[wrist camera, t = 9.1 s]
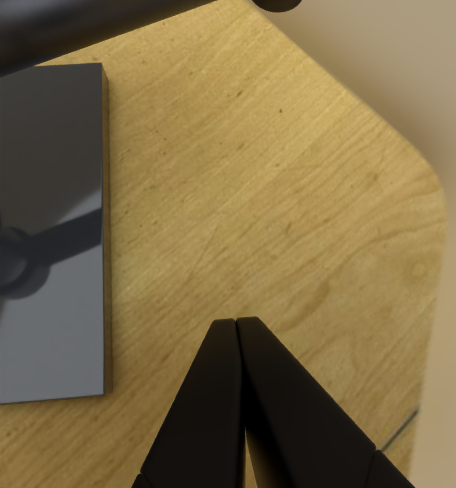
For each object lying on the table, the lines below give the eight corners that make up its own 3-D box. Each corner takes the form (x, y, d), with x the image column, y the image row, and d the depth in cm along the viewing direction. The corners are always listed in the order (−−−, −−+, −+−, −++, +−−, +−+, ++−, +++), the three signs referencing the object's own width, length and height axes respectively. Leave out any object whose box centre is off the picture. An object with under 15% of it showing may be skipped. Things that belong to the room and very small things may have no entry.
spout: (-273, 254, 11) (-442, 219, 8) (-294, 132, 12) (-454, 61, 9) (332, 25, 13) (363, -65, 10) (277, -64, 14) (292, -169, 11)
